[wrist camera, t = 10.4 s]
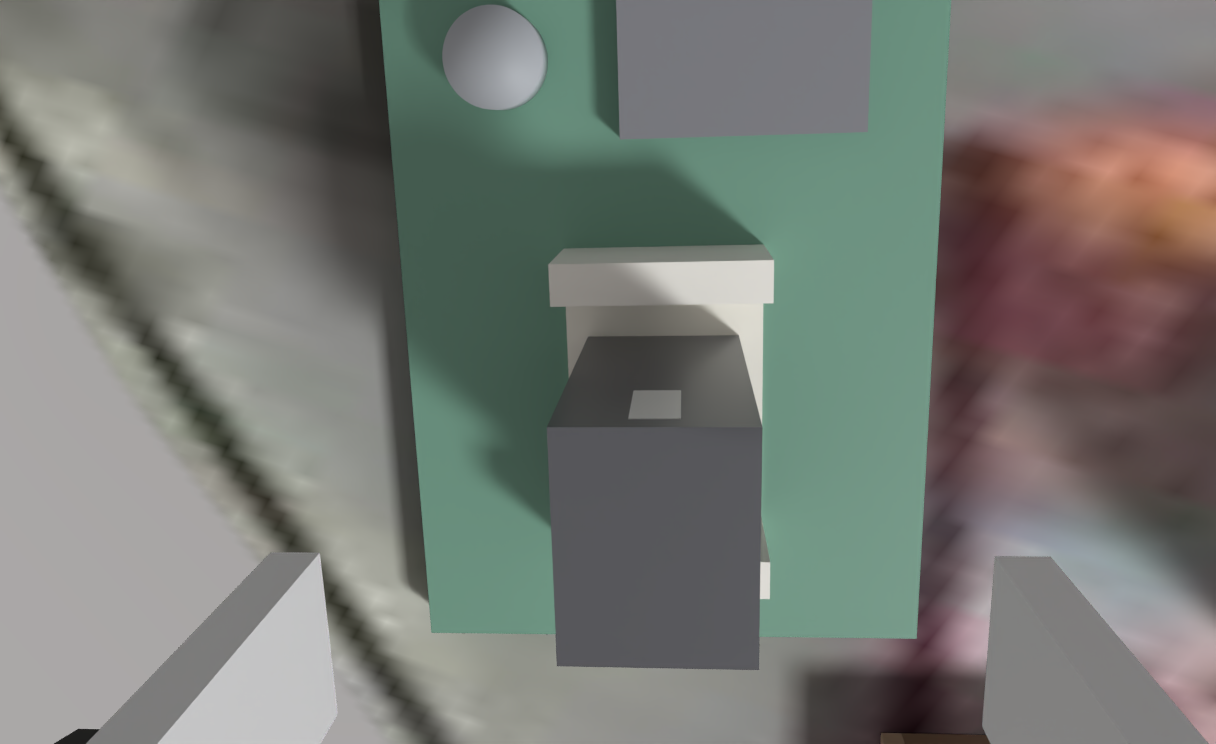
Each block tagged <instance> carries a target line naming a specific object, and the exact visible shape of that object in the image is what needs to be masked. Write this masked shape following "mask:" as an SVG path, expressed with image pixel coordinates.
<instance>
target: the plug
mask: <svg viewBox="0 0 1216 744" xmlns="http://www.w3.org/2000/svg"><path fill="white" fill-rule="evenodd" d="M762 430H763V427H762V423H761V419H760V415H759V412H758V408H757V404H756V400H755V396H754V392H753V388H752V384H751V381H750V377H749V373H748V369H747V365H746V361H745V357H744V354H743V350H742V346H741V342H740V338H739V335H708V336H590V337H588V338H587V340H586V342H585V344H584V346H583V349H582V351H581V353H580V355H579V357H578V360H577V362H576V364H575V366H574V368H573V371H572V373H571V375H570V377H569V379H568V382H567V384H566V386H565V388H564V390H563V393H562V395H561V397H560V399H559V401H558V404H557V406H556V408H555V410H554V412H553V415H552V417H551V419H550V421H549V423H548V426H547V445H548V469H549V492H550V515H551V539H552V562H553V585H554V609H555V632H556V656H557V666H579V667H631V668H683V669H735V670H759V629H760V562H761V496H762Z"/></svg>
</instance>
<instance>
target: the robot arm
mask: <svg viewBox="0 0 1216 744" xmlns="http://www.w3.org/2000/svg"><path fill="white" fill-rule="evenodd" d="M337 715H338V711H337V702H336V693H335V684H334V675H333V666H332V657H331V648H330V640H329V631H328V622H327V613H326V604H325V595H324V586H323V577H322V569H321V560H320V553H270V554H269V555H268V556H267V557H266V558H265V559H264V560H263V561H262V562H261V563H260V564H259V565H258V566H257V567H256V568H255V569H254V570H253V571H252V572H251V573H250V575H248V577H246V578H245V579H244V580H243V582H242V583H241V584H240V585H239V586H238V587H237V588H236V589H235V590H234V591H233V592H232V593H231V594H230V595H229V596H228V597H227V598H226V599H225V600H224V601H223V602H222V603H221V604H220V605H219V606H218V607H217V609H215V611H214V612H213V613H212V614H211V615H210V616H209V617H208V618H207V619H206V620H205V621H204V622H203V623H202V624H201V625H200V626H199V627H198V628H197V629H196V630H195V631H194V632H193V633H192V634H191V635H190V636H189V638H187V640H186V641H185V642H184V643H183V644H182V645H181V646H180V647H179V648H178V649H177V650H176V651H175V652H174V653H173V654H172V655H171V656H170V657H169V658H168V659H167V660H166V661H165V662H164V663H163V664H162V666H160V667H159V669H158V670H157V671H156V672H155V673H154V674H153V675H152V676H151V677H150V678H149V679H148V680H147V681H146V682H145V683H144V684H143V685H142V686H141V687H140V688H139V689H138V691H136V692H135V693H134V695H132V697H131V698H130V699H129V700H128V701H127V702H126V703H125V704H124V705H123V706H122V707H121V708H120V709H119V710H118V711H117V712H116V713H115V714H114V715H113V716H112V717H111V718H110V719H109V720H108V721H107V722H106V723H105V724H104V725H103V727H102V728H101V729H77V730H76V731H74V732H72V733H71V734H69V735H68V736H66V737H64V738H63V739H61V740H59V741H58V742H56V743H54V744H321V742H322V740H323V738H324V737H325V735H326V733H327V732H328V730H329V728H330V726H331V725H332V723H333V721H334V720H335V718H336V716H337ZM982 727H983V729H984V731H985V733H986V735H987V737H988V740H989V742H990V744H1208V742H1207V741H1206V740H1205V739H1204V738H1203V737H1202V735H1201V734H1200V733H1199V732H1198V731H1197V729H1196V728H1195V727H1194V726H1193V725H1192V724H1191V722H1190V721H1189V720H1188V719H1187V718H1186V716H1185V715H1184V714H1183V713H1182V712H1181V711H1180V709H1179V708H1178V707H1177V706H1176V705H1175V703H1174V702H1173V701H1172V700H1171V699H1170V698H1169V696H1168V695H1167V694H1166V693H1165V692H1164V690H1163V689H1162V688H1161V687H1160V686H1159V685H1158V683H1157V682H1156V681H1155V680H1154V679H1153V677H1152V676H1151V675H1150V674H1149V673H1148V672H1147V670H1146V669H1145V668H1144V667H1143V666H1142V664H1141V663H1140V662H1139V661H1138V660H1137V658H1136V657H1135V656H1134V655H1133V654H1132V653H1131V651H1130V650H1129V649H1128V648H1127V647H1126V645H1125V644H1124V643H1123V642H1122V641H1121V640H1120V638H1119V637H1118V636H1117V635H1116V634H1115V632H1114V631H1113V630H1112V629H1111V628H1110V627H1109V625H1108V624H1107V623H1106V622H1105V621H1104V619H1103V618H1102V617H1101V616H1100V615H1099V614H1098V612H1097V611H1096V610H1095V609H1094V608H1093V606H1092V605H1091V604H1090V603H1089V602H1088V601H1087V599H1086V598H1085V597H1084V596H1083V595H1082V593H1081V592H1080V591H1079V590H1078V589H1077V588H1076V586H1075V585H1074V584H1073V583H1072V582H1071V580H1070V579H1069V578H1068V577H1067V576H1066V574H1065V573H1064V572H1063V571H1062V570H1061V569H1060V567H1059V566H1058V565H1057V564H1056V563H1055V561H1054V560H1053V559H1052V558H1051V557H1013V556H995V560H994V574H993V587H992V600H991V614H990V627H989V640H988V654H987V667H986V680H985V694H984V707H983V720H982Z"/></svg>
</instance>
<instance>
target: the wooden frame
mask: <svg viewBox="0 0 1216 744" xmlns="http://www.w3.org/2000/svg"><path fill="white" fill-rule="evenodd" d="M881 744H990V742H989V740H988V737H987V735H963V734H913V733H881Z"/></svg>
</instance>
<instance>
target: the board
mask: <svg viewBox="0 0 1216 744" xmlns="http://www.w3.org/2000/svg"><path fill="white" fill-rule="evenodd" d="M379 7H380V19H381V31H382V43H383V55H384V67H385V79H386V91H387V103H388V115H389V127H390V139H391V151H392V163H393V175H394V187H395V199H396V211H397V223H398V235H399V247H400V259H401V271H402V283H403V295H404V307H405V319H406V331H407V343H408V355H409V367H410V379H411V391H412V403H413V415H414V427H415V440H416V451H417V464H418V476H419V488H420V500H421V512H422V524H423V536H424V548H425V560H426V572H427V584H428V596H429V608H430V620H431V632H432V633H502V634H556V632H555V609H554V585H553V562H552V539H551V515H550V492H549V469H548V445H547V426H548V423H549V421H550V419H551V417H552V415H553V412H554V410H555V408H556V406H557V404H558V401H559V399H560V397H561V395H562V393H563V390H564V388H565V386H566V384H567V382H568V379H569V377H570V375H571V373H572V371H573V368H574V366H575V364H576V362H577V360H578V357H579V355H580V353H581V351H582V349H583V346H584V344H585V342H586V340H587V338H588V337H590V336H708V335H739V338H740V342H741V346H742V350H743V354H744V357H745V361H746V365H747V369H748V373H749V377H750V381H751V384H752V388H753V392H754V396H755V400H756V404H757V408H758V412H759V415H760V419H761V423H762V427H763V430H762V496H761V562H760V629H759V637H832V638H914V639H916V638H917V620H918V601H919V583H920V564H921V546H922V528H923V509H924V491H925V472H926V454H927V436H928V417H929V399H930V380H931V362H932V344H933V325H934V307H935V288H936V270H937V252H938V233H939V215H940V196H941V178H942V160H943V141H944V123H945V104H946V86H947V68H948V49H949V31H950V12H951V0H379Z"/></svg>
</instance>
